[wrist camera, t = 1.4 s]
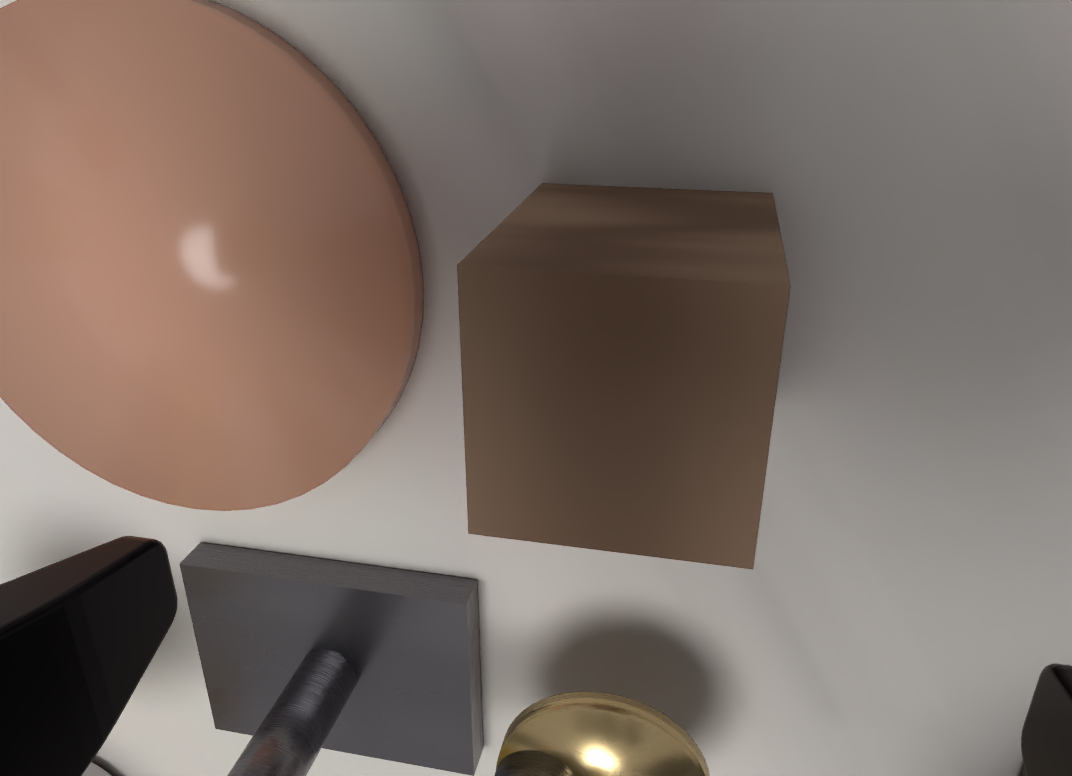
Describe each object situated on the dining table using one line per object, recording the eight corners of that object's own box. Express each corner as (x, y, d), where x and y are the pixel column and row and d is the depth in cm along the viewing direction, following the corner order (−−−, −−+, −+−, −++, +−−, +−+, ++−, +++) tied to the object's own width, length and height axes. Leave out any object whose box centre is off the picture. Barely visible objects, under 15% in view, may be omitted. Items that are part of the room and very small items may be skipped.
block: (772, 192, 16) (791, 286, 11) (747, 403, 18) (752, 569, 13) (542, 182, 17) (457, 264, 12) (542, 385, 19) (467, 533, 14)
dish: (404, -16, 16) (381, -17, 15) (436, 510, 21) (421, 537, 20) (-112, -13, 19) (-163, -14, 17) (27, 461, 24) (-6, 483, 22)
